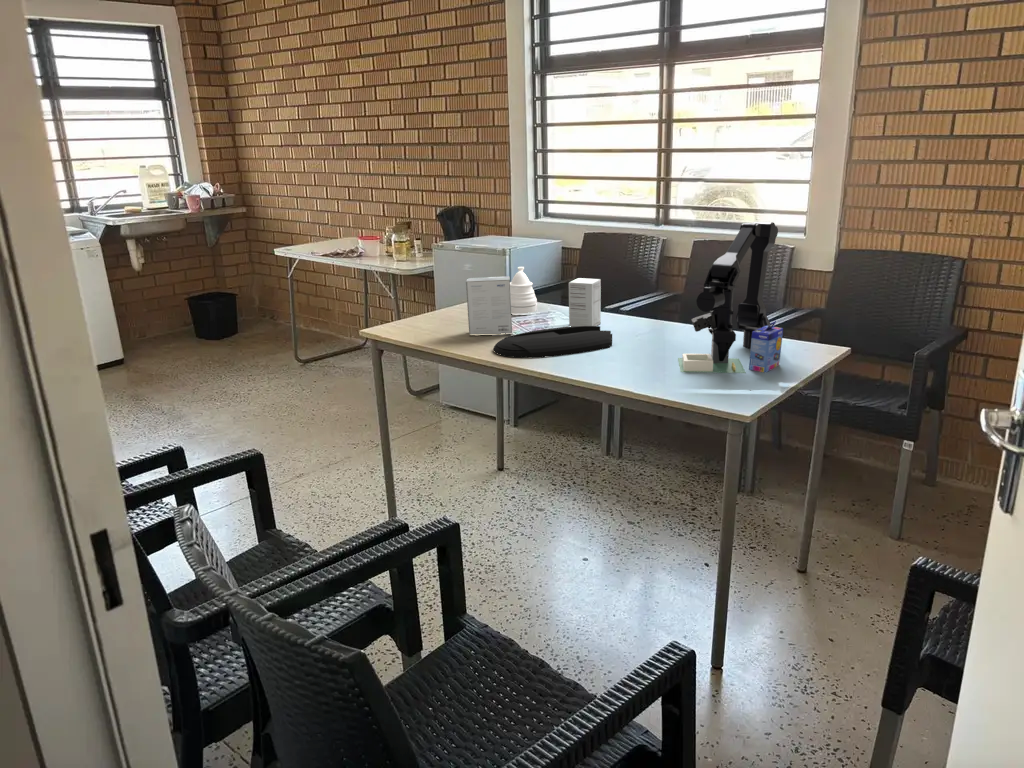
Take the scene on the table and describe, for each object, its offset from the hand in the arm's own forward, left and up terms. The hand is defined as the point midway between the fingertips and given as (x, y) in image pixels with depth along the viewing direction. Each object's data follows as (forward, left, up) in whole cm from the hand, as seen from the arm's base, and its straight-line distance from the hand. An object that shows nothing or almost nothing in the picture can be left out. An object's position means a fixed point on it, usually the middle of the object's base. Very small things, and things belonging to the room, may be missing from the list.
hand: (719, 357), depth 224 cm
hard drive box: (-37, -76, -2) cm, 85 cm away
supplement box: (-50, -43, -2) cm, 66 cm away
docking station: (-20, -52, -3) cm, 56 cm away
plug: (0, 0, -1) cm, 1 cm away
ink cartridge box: (+6, +12, -2) cm, 14 cm away
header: (+7, -7, -1) cm, 10 cm away
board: (+5, -3, -2) cm, 6 cm away
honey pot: (-73, -70, -2) cm, 101 cm away
